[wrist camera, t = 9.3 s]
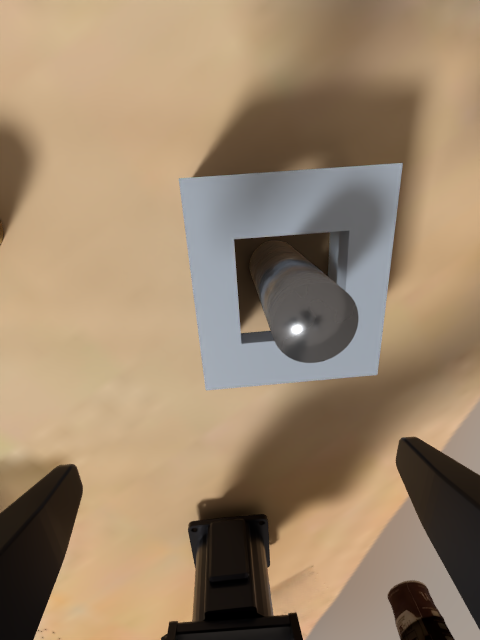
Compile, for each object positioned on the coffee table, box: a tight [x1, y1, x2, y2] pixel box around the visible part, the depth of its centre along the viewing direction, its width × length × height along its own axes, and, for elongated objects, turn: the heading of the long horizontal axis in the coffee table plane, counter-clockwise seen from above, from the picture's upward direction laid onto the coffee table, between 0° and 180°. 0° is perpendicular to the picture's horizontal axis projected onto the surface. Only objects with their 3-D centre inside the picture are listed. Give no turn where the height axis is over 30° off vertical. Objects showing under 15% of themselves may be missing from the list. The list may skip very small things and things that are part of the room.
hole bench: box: [179, 163, 403, 390], centre depth 17 cm, size 10×9×5 cm
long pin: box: [250, 240, 359, 363], centre depth 15 cm, size 3×3×9 cm
